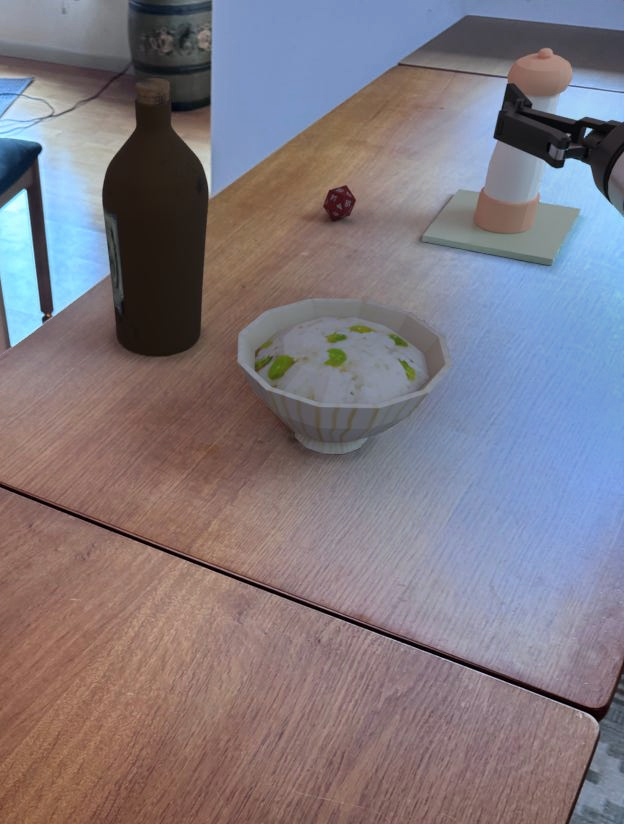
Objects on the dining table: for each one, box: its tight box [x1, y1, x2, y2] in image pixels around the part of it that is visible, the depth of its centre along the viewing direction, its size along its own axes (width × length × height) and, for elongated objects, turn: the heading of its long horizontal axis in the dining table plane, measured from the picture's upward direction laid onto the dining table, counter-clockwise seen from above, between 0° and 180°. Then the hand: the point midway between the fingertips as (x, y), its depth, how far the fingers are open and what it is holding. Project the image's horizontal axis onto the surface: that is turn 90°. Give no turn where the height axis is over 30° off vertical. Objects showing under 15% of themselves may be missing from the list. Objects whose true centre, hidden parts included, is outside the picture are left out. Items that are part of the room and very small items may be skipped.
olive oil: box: [101, 77, 210, 357], centre depth 92 cm, size 11×11×25 cm
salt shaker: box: [474, 47, 573, 233], centre depth 109 cm, size 7×7×19 cm
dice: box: [322, 184, 357, 222], centre depth 119 cm, size 4×4×4 cm
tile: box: [421, 188, 582, 267], centre depth 116 cm, size 16×16×1 cm
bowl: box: [237, 297, 454, 455], centre depth 84 cm, size 19×19×10 cm
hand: (571, 94), depth 97 cm, fingers open, 13 cm apart
